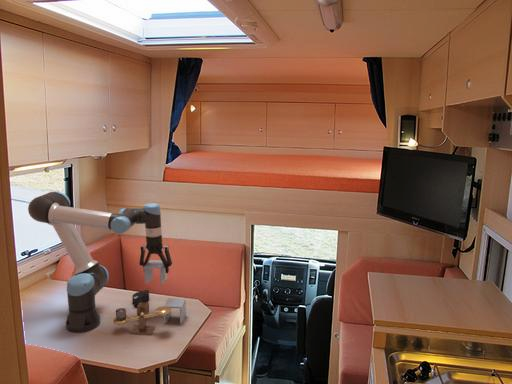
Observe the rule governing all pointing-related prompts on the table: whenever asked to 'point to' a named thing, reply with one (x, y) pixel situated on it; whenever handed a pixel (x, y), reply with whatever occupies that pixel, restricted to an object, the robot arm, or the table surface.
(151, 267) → the cover
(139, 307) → the block
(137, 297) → the rock
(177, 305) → the cover
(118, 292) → the table surface
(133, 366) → the table surface
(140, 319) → the balance
